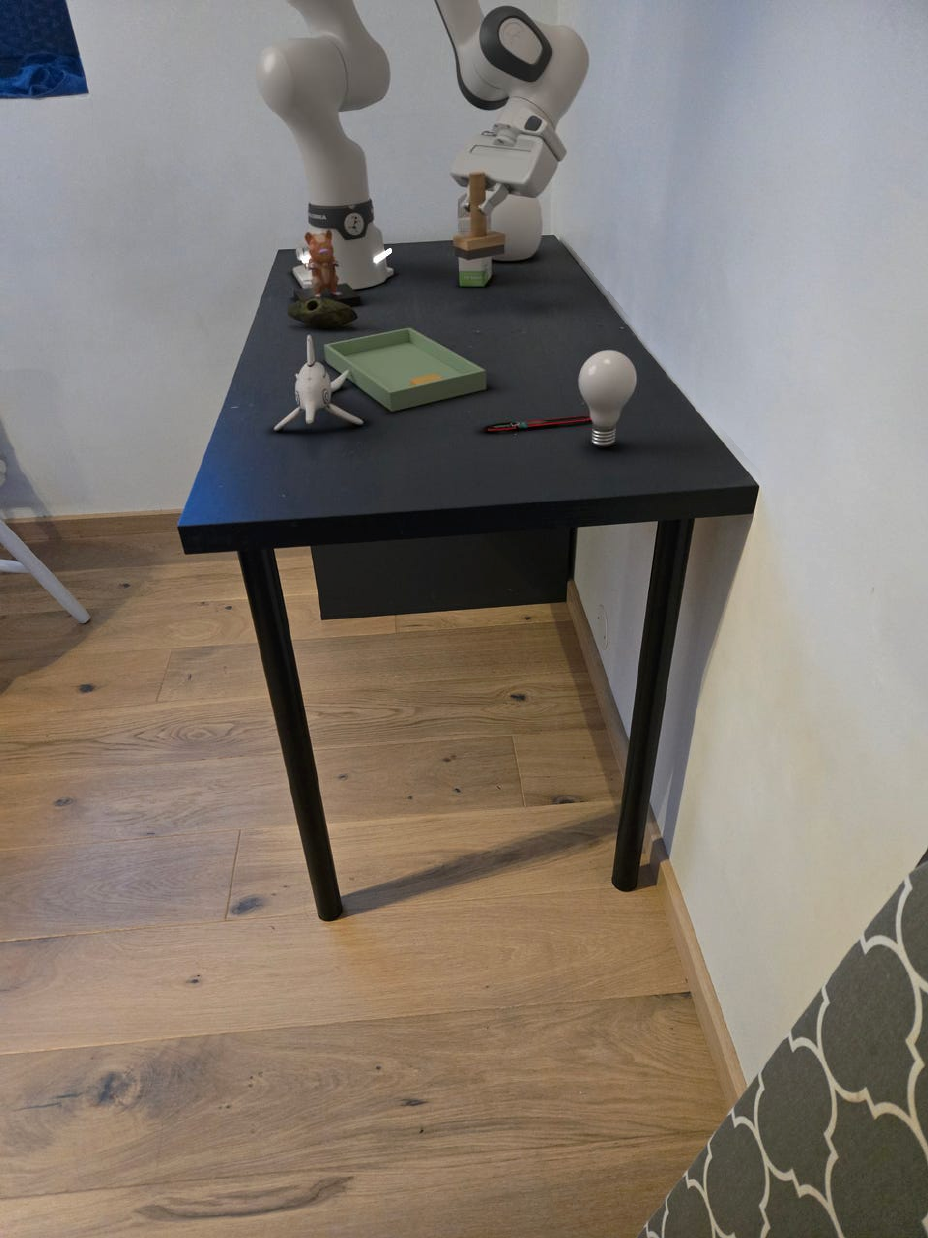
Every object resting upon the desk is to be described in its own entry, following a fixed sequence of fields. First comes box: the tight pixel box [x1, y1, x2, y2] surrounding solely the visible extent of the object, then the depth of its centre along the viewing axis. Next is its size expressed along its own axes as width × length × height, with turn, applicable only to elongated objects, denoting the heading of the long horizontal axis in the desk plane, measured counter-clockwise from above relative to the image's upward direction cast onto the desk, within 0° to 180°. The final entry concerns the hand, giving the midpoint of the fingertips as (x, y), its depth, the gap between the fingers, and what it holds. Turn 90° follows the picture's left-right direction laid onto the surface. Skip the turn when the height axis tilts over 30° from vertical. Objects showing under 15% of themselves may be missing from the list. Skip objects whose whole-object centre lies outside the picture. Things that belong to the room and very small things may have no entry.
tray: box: [323, 327, 487, 413], centre depth 116 cm, size 23×14×3 cm, turn 29°
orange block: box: [410, 374, 443, 386], centre depth 110 cm, size 4×4×1 cm
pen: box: [481, 415, 591, 432], centre depth 100 cm, size 2×14×1 cm, turn 100°
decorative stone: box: [287, 296, 359, 330], centre depth 135 cm, size 11×8×5 cm
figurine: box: [292, 230, 361, 308], centre depth 145 cm, size 10×10×12 cm
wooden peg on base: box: [452, 172, 505, 260], centre depth 132 cm, size 5×7×12 cm, turn 119°
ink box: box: [456, 192, 493, 288], centre depth 152 cm, size 9×5×15 cm, turn 168°
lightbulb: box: [577, 349, 638, 449], centre depth 92 cm, size 6×6×11 cm
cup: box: [486, 191, 543, 262], centre depth 167 cm, size 13×13×14 cm
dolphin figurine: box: [273, 334, 364, 432], centre depth 102 cm, size 11×25×11 cm, turn 6°
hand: (474, 211), depth 131 cm, fingers closed on wooden peg on base, 2 cm apart
